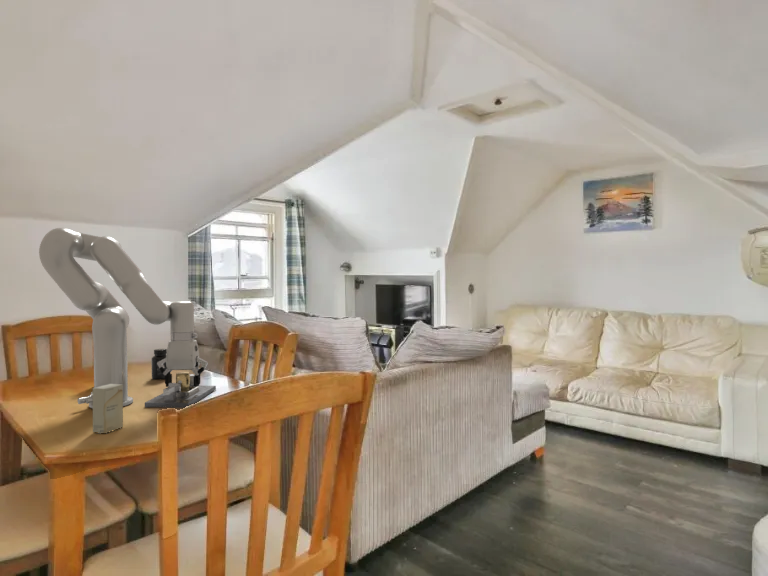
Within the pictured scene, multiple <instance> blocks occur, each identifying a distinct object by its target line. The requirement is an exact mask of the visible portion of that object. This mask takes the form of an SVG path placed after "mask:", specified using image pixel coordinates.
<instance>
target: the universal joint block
mask: <svg viewBox="0 0 768 576" xmlns="http://www.w3.org/2000/svg"><path fill="white" fill-rule="evenodd" d="M175 383H181V392H188V391H190V372H189V371H183V372H177V373H175Z"/></svg>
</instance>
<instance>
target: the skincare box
mask: <svg viewBox="0 0 768 576" xmlns="http://www.w3.org/2000/svg"><path fill="white" fill-rule="evenodd" d="M92 392H93V408H92V433H93V432H98V433H97V434H101V433H106V434H108V433H107V432H109V431H112V430H115V429H118V428H120V429H122V428H121V427H123V428H124V406H123V385H122V384H108V385H104V386H100V387H96V388H94V387H92ZM118 430H119V429H118ZM115 431H116V430H115ZM112 432H113V431H112ZM109 433H110V432H109Z"/></svg>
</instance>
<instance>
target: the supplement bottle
mask: <svg viewBox="0 0 768 576" xmlns="http://www.w3.org/2000/svg"><path fill="white" fill-rule="evenodd" d="M153 355H154V356H152V357H151V363H150V364H151V379H152V380H154V379H161V380H165V375H163V373H162V372H161V371H160V368H159V366H158V365H157V362H159V361H161V360H163V359H165V358H166V355H167V348H156V349H153ZM163 365H164V367H165V368H166V369H167V367H166V362H165V363H164V364H163Z"/></svg>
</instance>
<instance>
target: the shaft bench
mask: <svg viewBox="0 0 768 576" xmlns="http://www.w3.org/2000/svg"><path fill="white" fill-rule="evenodd" d="M194 375H195V374H194V373H191V374H190V391H188V392H181V383H176V382H172V383H169V387H166V388H163V389H162V390H163V393H161V394H159V395H157V396H154V397H153V398H151V399H149V400H147V401H145V402H144V408H174V407H175V409H176V408H179V409H180V408H184V407H186V406H189V405H191V404H193V403H194V404H196V403H197V402H199V401H201V400H202V399H204V398H206V397H207V396H208V395H210V394H212V393H213V392H215V391H216V390H217V388H216V387H217V385H199V386H197V387H194ZM214 390H215V391H214ZM211 392H212V393H211ZM194 404H193V405H194ZM191 406H192V405H191Z"/></svg>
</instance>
